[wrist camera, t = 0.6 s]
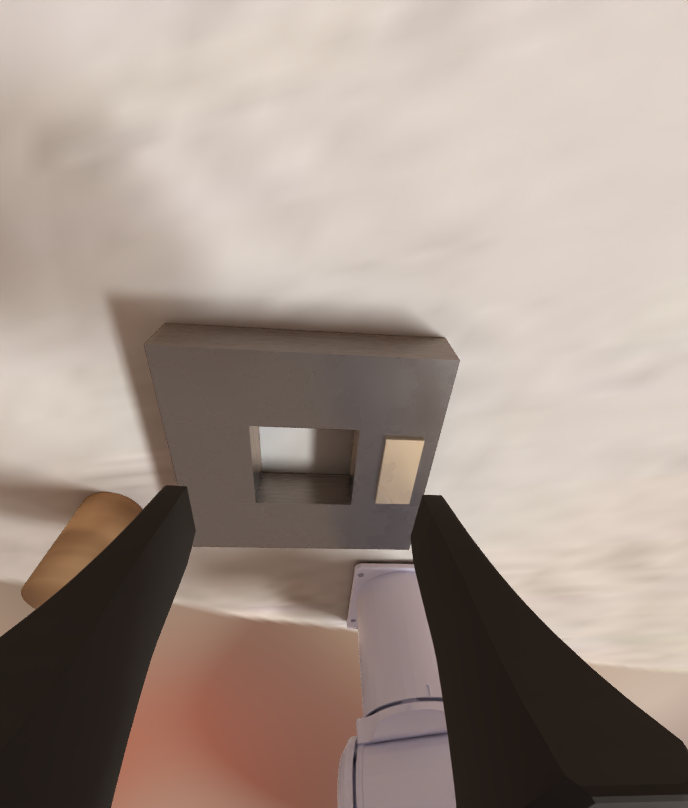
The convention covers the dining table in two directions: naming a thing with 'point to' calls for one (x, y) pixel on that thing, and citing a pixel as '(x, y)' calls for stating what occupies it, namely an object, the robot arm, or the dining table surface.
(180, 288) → the dining table surface
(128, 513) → the peg
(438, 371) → the plate
